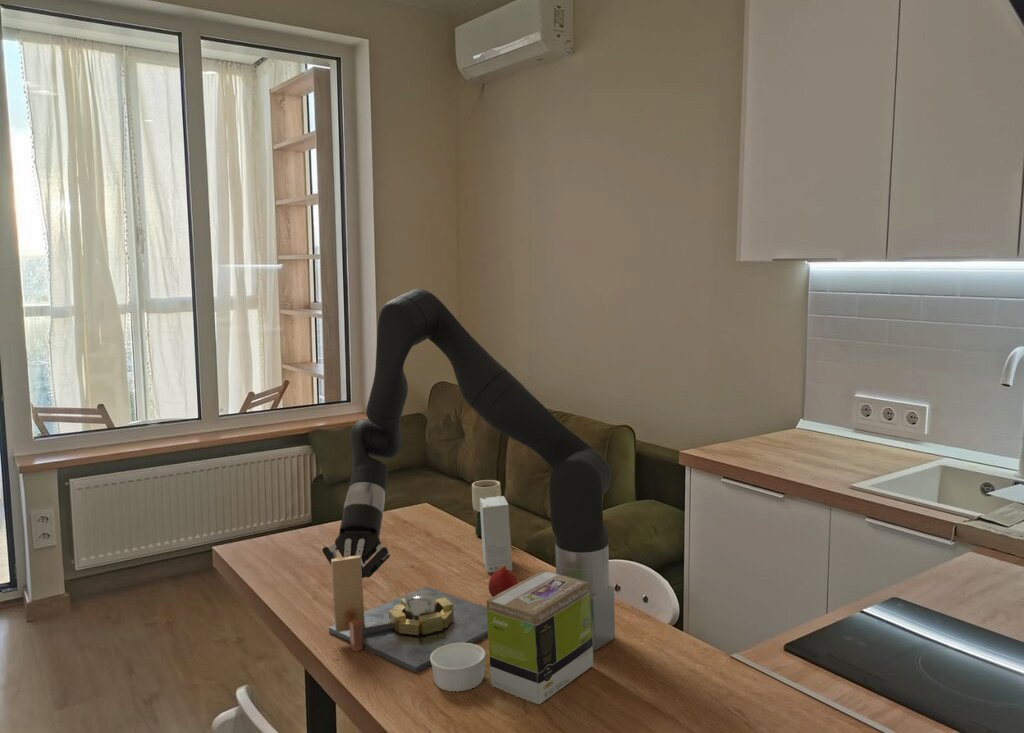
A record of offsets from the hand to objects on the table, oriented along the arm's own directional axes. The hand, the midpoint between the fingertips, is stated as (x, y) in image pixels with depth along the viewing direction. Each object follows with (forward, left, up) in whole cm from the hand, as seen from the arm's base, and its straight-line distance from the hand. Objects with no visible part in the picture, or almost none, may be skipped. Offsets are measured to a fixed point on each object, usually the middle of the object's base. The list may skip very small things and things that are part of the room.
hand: (348, 598), depth 145 cm
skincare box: (+3, -42, -8) cm, 42 cm away
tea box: (-36, -11, -8) cm, 39 cm away
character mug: (+19, -56, -7) cm, 59 cm away
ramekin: (-26, -2, -8) cm, 28 cm away
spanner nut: (-4, -7, -6) cm, 10 cm away
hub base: (-7, -11, -7) cm, 15 cm away
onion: (-12, -28, -7) cm, 31 cm away
